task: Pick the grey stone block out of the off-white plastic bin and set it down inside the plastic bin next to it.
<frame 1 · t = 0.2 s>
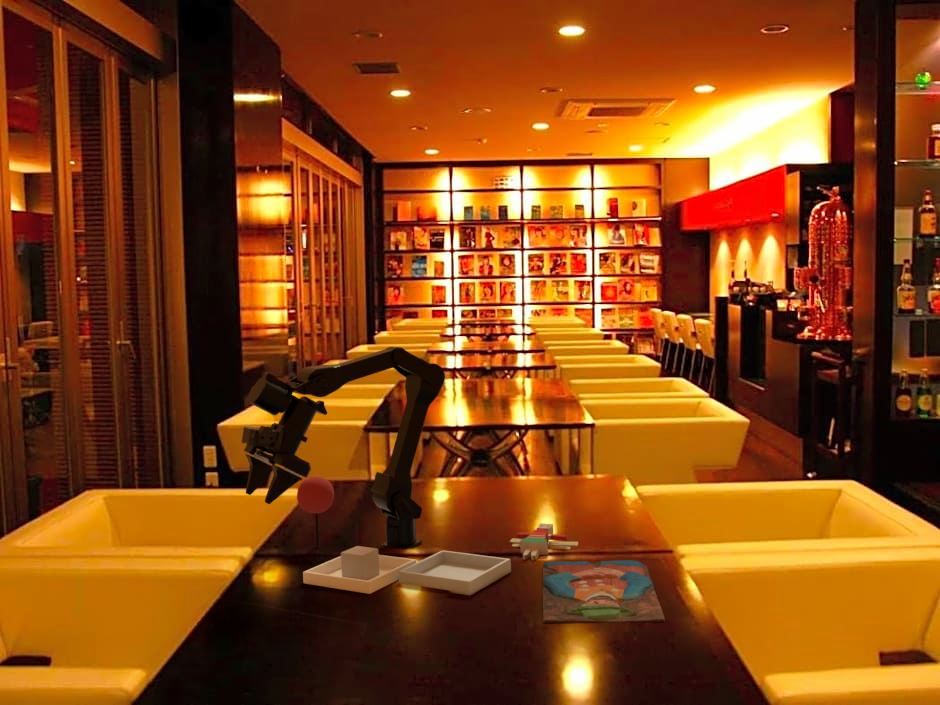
hand: (257, 498, 197), 15 cm above the table, tool tilted 30°, fingers open, 9 cm apart
toy: (538, 553, 207), on the table
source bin: (361, 578, 192), on the table
lollipop: (318, 547, 216), on the table
plaque: (599, 597, 179), on the table
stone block: (360, 576, 192), resting on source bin
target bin: (455, 578, 190), on the table
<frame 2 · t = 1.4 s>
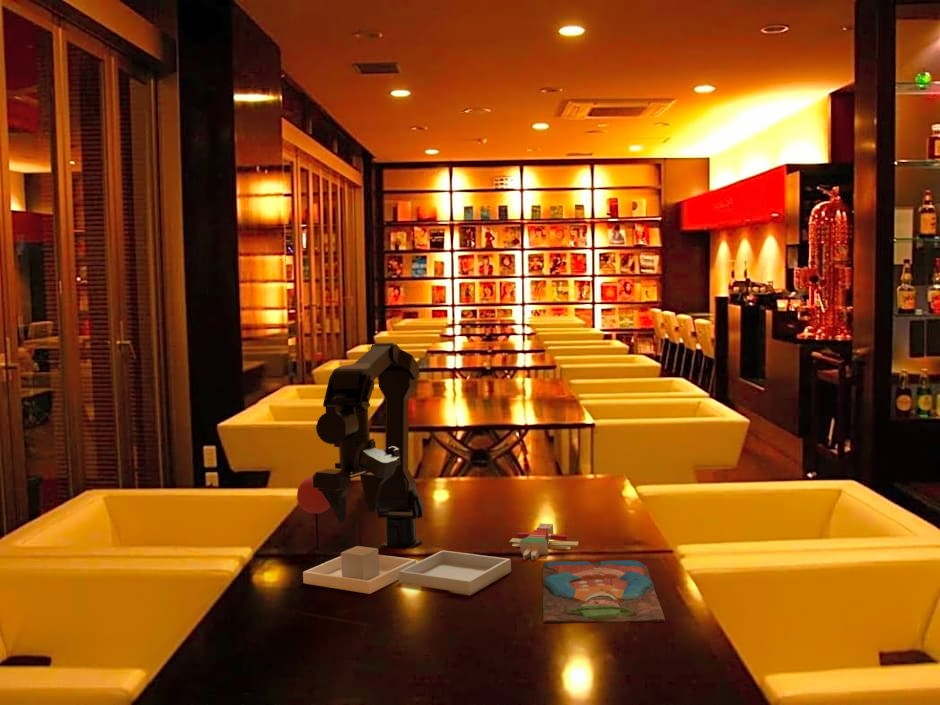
hand: (357, 517, 191), 12 cm above the table, tool pointing down, fingers open, 9 cm apart
nothing on the table moved.
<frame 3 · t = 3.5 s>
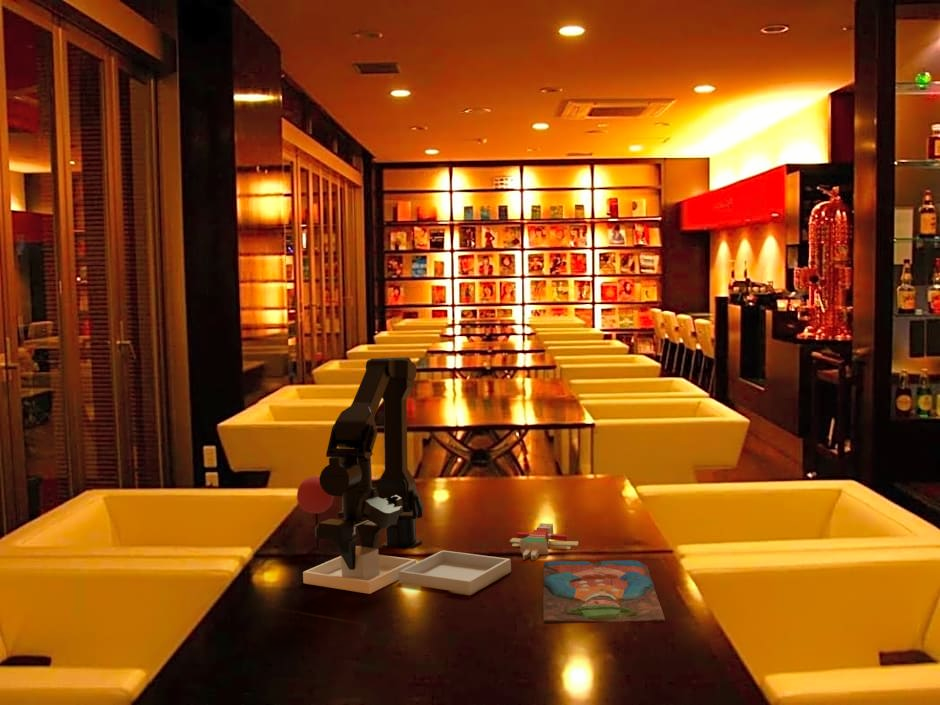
hand: (360, 565, 192), 3 cm above the table, tool pointing down, fingers closed on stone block, 5 cm apart
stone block: (360, 576, 192), resting on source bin, touching gripper
everything else where it was.
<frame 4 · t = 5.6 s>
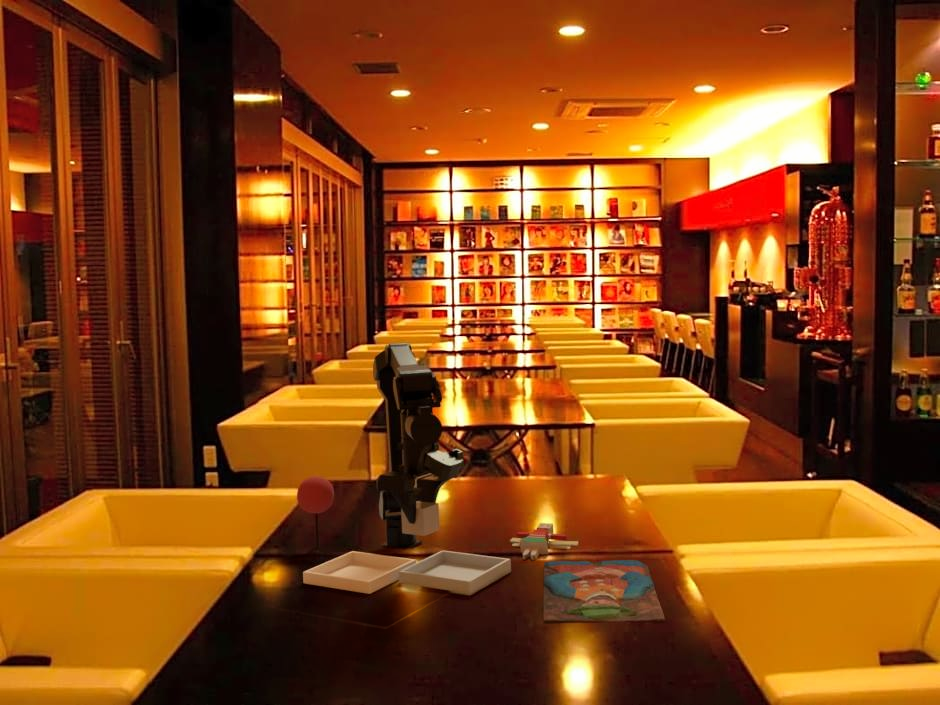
hand: (420, 520, 190), 11 cm above the table, tool pointing down, fingers closed on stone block, 5 cm apart
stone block: (420, 531, 190), point 9 cm above the table, touching gripper
everything else where it was.
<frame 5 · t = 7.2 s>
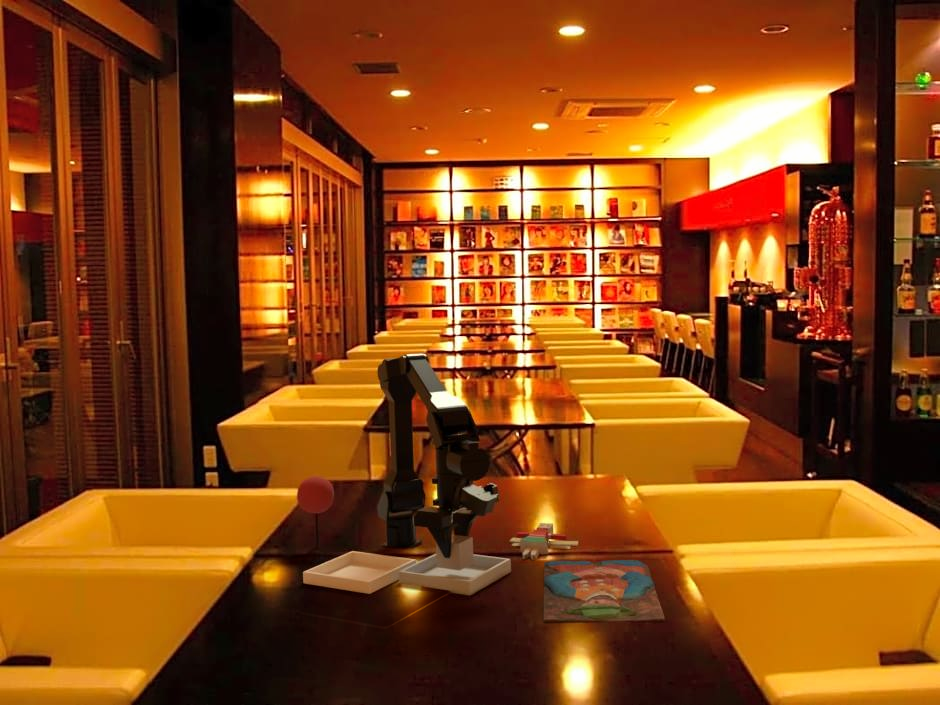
hand: (454, 554, 190), 5 cm above the table, tool pointing down, fingers closed on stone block, 5 cm apart
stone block: (455, 565, 190), point 2 cm above the table, touching gripper
everything else where it was.
when the fingers open (4 cm above the table, at t = 8.1 s): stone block drops 1 cm, resting on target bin.
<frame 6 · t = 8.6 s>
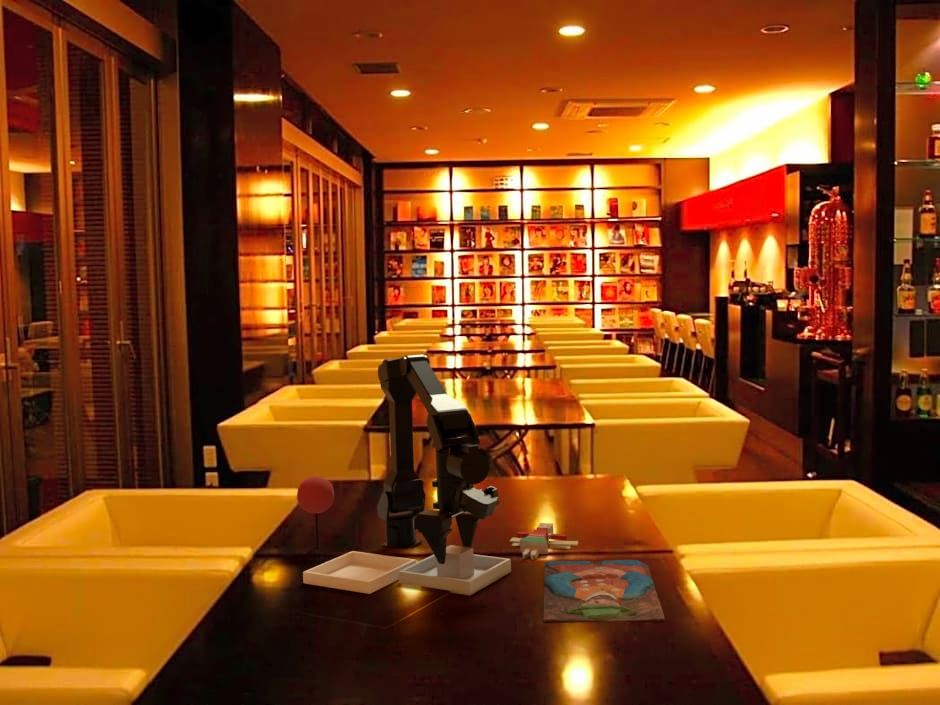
hand: (454, 557, 190), 4 cm above the table, tool pointing down, fingers open, 9 cm apart
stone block: (455, 576, 190), resting on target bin
everything else where it was.
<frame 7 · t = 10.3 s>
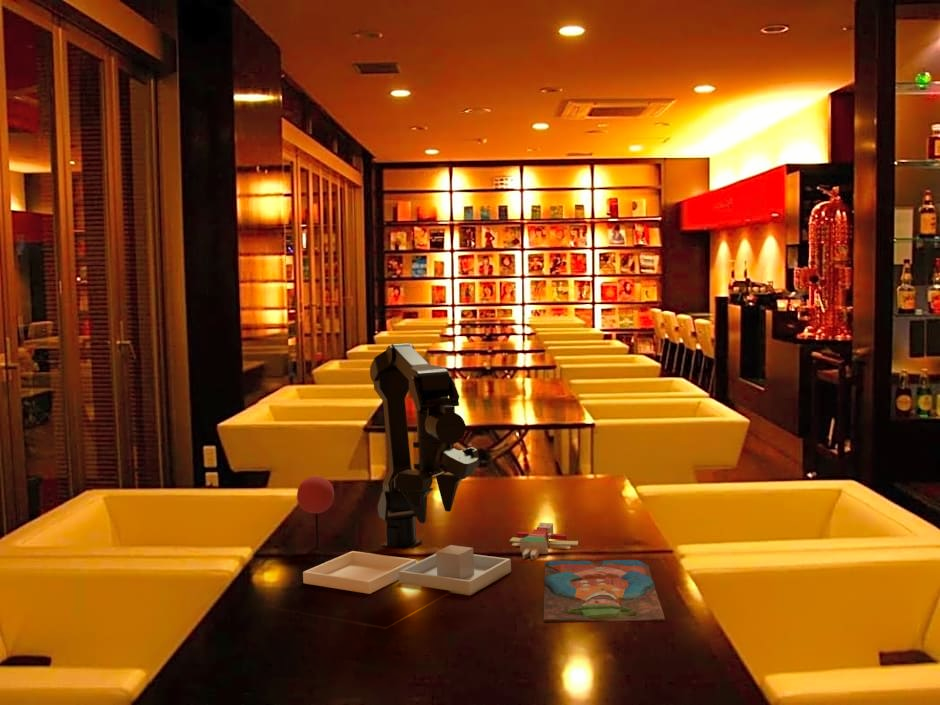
hand: (435, 517, 193), 11 cm above the table, tool pointing down, fingers open, 9 cm apart
nothing on the table moved.
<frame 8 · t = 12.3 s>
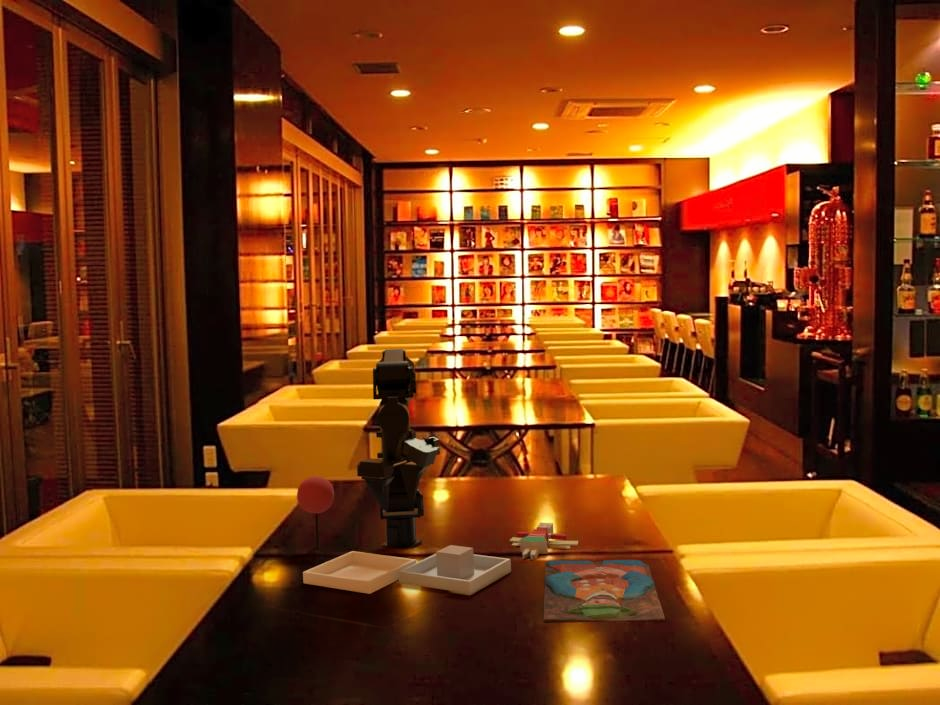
hand: (398, 504, 199), 12 cm above the table, tool pointing down, fingers open, 9 cm apart
nothing on the table moved.
at the end: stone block inside the target area on the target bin (0.0 cm from its centre), point 0.4 cm above the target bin's base; the gripper is holding nothing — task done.
